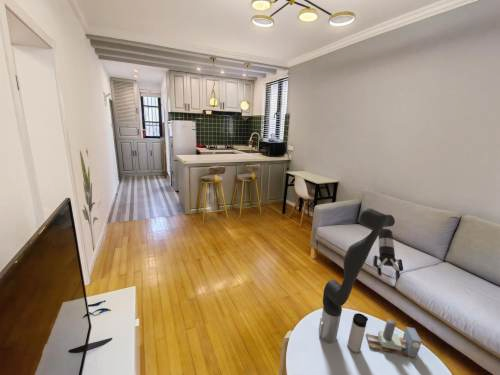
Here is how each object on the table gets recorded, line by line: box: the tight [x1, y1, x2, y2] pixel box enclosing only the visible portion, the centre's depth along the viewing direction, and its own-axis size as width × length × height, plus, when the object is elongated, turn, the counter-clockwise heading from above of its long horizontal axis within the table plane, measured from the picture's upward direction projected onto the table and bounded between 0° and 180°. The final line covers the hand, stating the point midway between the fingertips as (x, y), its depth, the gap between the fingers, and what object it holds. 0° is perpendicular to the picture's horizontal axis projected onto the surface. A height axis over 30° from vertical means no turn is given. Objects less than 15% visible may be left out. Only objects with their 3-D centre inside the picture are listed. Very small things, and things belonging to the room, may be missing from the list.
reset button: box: [398, 336, 407, 345], centre depth 122 cm, size 3×4×4 cm
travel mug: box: [346, 312, 369, 354], centre depth 120 cm, size 6×7×20 cm
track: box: [365, 333, 418, 360], centre depth 125 cm, size 22×8×2 cm, turn 77°
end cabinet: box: [402, 326, 423, 357], centre depth 121 cm, size 4×8×10 cm, turn 167°
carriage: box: [377, 318, 402, 351], centre depth 123 cm, size 9×7×13 cm
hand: (388, 277), depth 126 cm, fingers open, 8 cm apart
